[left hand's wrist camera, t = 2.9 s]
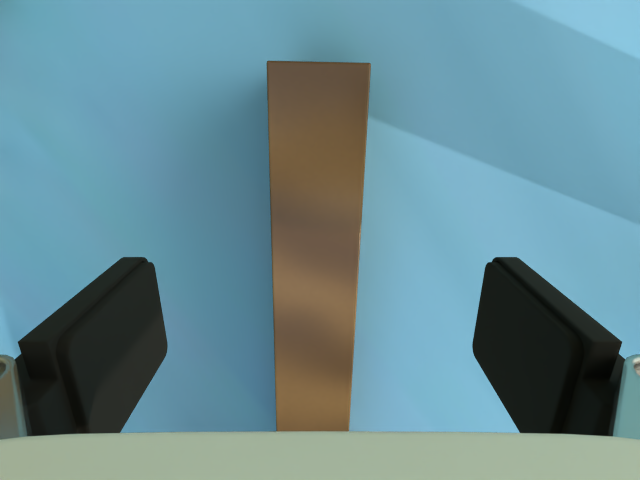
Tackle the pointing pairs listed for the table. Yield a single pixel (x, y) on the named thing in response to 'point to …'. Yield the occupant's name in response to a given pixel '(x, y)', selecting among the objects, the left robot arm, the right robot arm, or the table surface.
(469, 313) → the table surface
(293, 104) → the bar
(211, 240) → the table surface
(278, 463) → the left robot arm
